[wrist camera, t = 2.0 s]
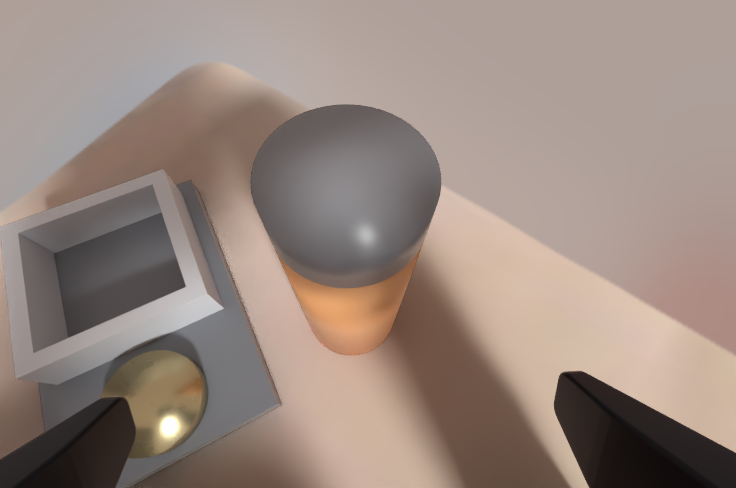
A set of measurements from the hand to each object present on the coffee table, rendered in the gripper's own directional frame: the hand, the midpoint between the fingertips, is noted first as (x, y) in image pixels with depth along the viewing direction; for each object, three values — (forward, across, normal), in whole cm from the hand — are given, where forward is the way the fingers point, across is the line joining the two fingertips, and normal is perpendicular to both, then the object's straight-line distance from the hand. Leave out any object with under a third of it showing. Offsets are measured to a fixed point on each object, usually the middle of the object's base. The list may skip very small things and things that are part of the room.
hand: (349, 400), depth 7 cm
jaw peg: (+13, 0, +5) cm, 14 cm away
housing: (+13, +11, +5) cm, 18 cm away
